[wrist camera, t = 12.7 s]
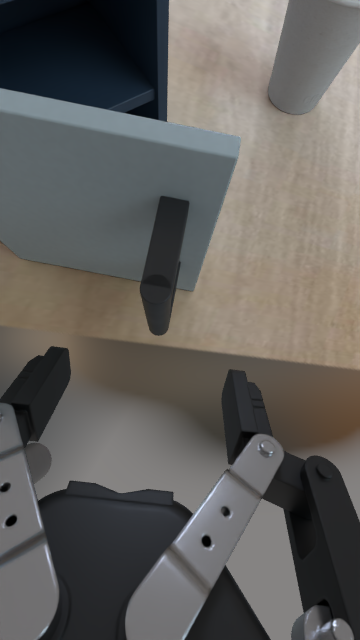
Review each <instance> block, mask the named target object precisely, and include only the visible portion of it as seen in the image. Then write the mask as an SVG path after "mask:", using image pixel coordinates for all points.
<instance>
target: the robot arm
mask: <svg viewBox="0 0 360 640" xmlns="http://www.w3.org/2000/svg"><path fill="white" fill-rule="evenodd" d="M70 375H71V369H70V359H69V351H68V349H67V348H60V347H53V346H51V347H50V348H49V349H48V351H47V352H46V354H45V355H44V356H40V355H38V356H36V357H35V358H34V359H32V360H30V361H29V362H28V363H27V365H26V366H25V367H24V369H23V370H22V371H21V373H20V374H19V375H18V377H17V378H16V379H15V380H14V382H13V383H12V384H11V386H10V387H9V388H8V389H7V391H6V392H5V393H4V395H3V396H2V397H1V399H0V640H271V639H270V638H269V636H268V635H267V633H266V631H265V630H264V628H263V626H262V625H261V623H260V621H259V620H258V618H257V616H256V615H255V613H254V611H253V610H252V608H251V606H250V605H249V603H248V602H247V600H246V598H245V597H244V595H243V593H242V592H241V590H240V589H239V587H238V585H237V583H236V582H235V580H234V578H233V577H232V575H231V573H230V572H229V570H228V569H227V567H226V565H225V564H226V563H227V561H228V559H229V557H230V555H231V553H232V552H233V550H234V548H235V546H236V544H237V542H238V541H239V539H240V537H241V535H242V534H243V532H244V530H245V528H246V526H247V524H248V523H249V521H250V519H251V517H252V515H253V514H254V512H255V510H256V508H257V506H258V504H259V503H260V501H261V499H262V498H263V499H264V500H266V501H269V502H271V503H273V504H275V505H277V506H279V507H281V508H283V509H284V514H285V519H286V524H287V529H288V534H289V540H290V544H291V550H292V555H293V560H294V565H295V571H296V576H297V581H298V586H299V591H300V596H301V601H302V606H303V612H304V614H302V615H301V616H300V617H299V618H298V619H296V621H295V622H294V625H293V627H292V634H291V638H292V639H291V640H360V522H359V519H358V517H357V514H356V511H355V509H354V506H353V504H352V501H351V499H350V496H349V494H348V491H347V488H346V486H345V483H344V481H343V478H342V476H341V473H340V472H339V470H338V469H337V468H336V466H335V465H333V463H331V462H330V461H328V460H327V459H325V458H323V457H320V456H310V457H309V458H307V460H303V459H301V458H298V457H296V456H294V455H291V454H289V453H287V452H286V451H284V450H283V448H282V446H281V445H280V443H279V442H278V441H277V440H276V439H274V438H273V435H272V431H271V428H270V424H269V420H268V417H267V413H266V410H265V406H264V403H263V399H262V395H261V391H260V390H259V389H258V387H257V386H256V385H255V383H252V382H247V377H246V373H245V371H239V370H231V369H230V370H229V371H228V374H227V378H226V381H225V384H224V388H223V392H222V410H223V420H224V429H225V438H226V447H227V456H228V464H231V465H232V466H231V467H230V469H229V470H228V469H227V470H226V471H225V472H224V473H223V474H222V475H221V477H220V478H219V480H218V481H217V482H216V484H215V485H214V486H213V488H212V489H211V491H210V492H209V493H208V495H207V496H206V498H205V499H204V500H203V502H202V503H201V504H200V506H199V507H198V509H197V510H196V511H195V513H194V514H193V513H192V512H191V511H190V510H188V509H187V508H186V507H185V506H183V505H182V504H180V503H178V502H176V501H174V500H173V492H169V491H160V490H151V489H146V490H140V491H134V492H128V493H117V492H115V491H113V490H110V489H108V488H105V487H103V486H100V485H98V484H96V483H87V482H78V481H69V484H68V487H67V489H64V490H60V491H57V492H54V493H52V494H49V495H47V496H45V497H44V498H42V499H40V500H39V501H38V499H37V495H36V491H35V488H34V483H33V480H32V476H31V472H30V468H29V464H28V460H27V456H26V453H25V449H24V448H25V447H26V445H27V443H28V441H37V442H38V440H39V439H40V437H41V435H42V433H43V431H44V429H45V427H46V425H47V423H48V421H49V419H50V418H51V416H52V414H53V412H54V410H55V408H56V406H57V404H58V402H59V400H60V399H61V397H62V395H63V393H64V391H65V389H66V387H67V385H68V383H69V380H70Z"/></svg>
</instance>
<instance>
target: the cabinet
mask: <svg viewBox="0 0 360 640" xmlns="http://www.w3.org/2000/svg"><path fill="white" fill-rule="evenodd" d="M168 22H169V0H0V88H2V89H7V90H12V91H17V92H22V93H26V94H31V95H36V96H41V97H46V98H51V99H56V100H61V101H66V102H71V103H76V104H81V105H86V106H91V107H96V108H101V109H106V110H111V111H115V112H120V113H125V114H130V115H135V116H140V117H145V118H150V119H155V120H160V121H165V122H167V84H168Z"/></svg>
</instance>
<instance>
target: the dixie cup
mask: <svg viewBox="0 0 360 640" xmlns="http://www.w3.org/2000/svg"><path fill="white" fill-rule="evenodd" d="M359 43H360V0H289V3H288V7H287V11H286V15H285V20H284V24H283V28H282V32H281V36H280V41H279V45H278V49H277V53H276V57H275V62H274V66H273V70H272V74H271V78H270V83H269V87H268V94H269V97H270V100H271V102H272V103H273V104H274V105H275V106H276V107H277V108H278V109H280V110H282V111H284V112H286V113H290V114H304V113H307V112H309V111H311V110H312V109H313V108H314V107H315V106H316V104H317V103H318V102H319V100H320V99H321V97H322V96H323V94H324V93H325V92H326V90H327V89H328V87H329V86H330V84H331V83H332V82H333V80H334V79H335V77H336V76H337V74H338V73H339V72H340V70H341V69H342V67H343V66H344V64H345V63H346V62H347V60H348V59H349V57H350V56H351V54H352V53H353V52H354V50H355V49H356V47H357V46H358V44H359Z"/></svg>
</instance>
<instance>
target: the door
mask: <svg viewBox="0 0 360 640" xmlns="http://www.w3.org/2000/svg"><path fill="white" fill-rule="evenodd" d="M240 142H241V138H240V137H239V136H234V135H229V134H224V133H219V132H214V131H209V130H205V129H200V128H195V127H190V126H185V125H180V124H175V123H170V122H165V121H160V120H155V119H150V118H145V117H140V116H135V115H130V114H125V113H120V112H115V111H111V110H106V109H101V108H96V107H91V106H86V105H81V104H76V103H71V102H66V101H61V100H56V99H51V98H46V97H41V96H36V95H31V94H26V93H22V92H17V91H12V90H7V89H2V88H0V241H1V242H2V243H3V244H4V245H6V246H7V247H8V248H9V249H10V250H11V251H12V252H14V253H15V254H16V255H17V256H18V257H19V258H21V259H26V260H32V261H37V262H42V263H47V264H53V265H58V266H63V267H68V268H73V269H79V270H84V271H89V272H94V273H100V274H105V275H110V276H115V277H121V278H126V279H131V280H136V281H141V284H140V294H141V298H142V302H143V306H144V310H145V314H146V318H147V322H148V326H149V330H150V331H151V333H153V334H154V335H158V336H160V335H163V334H165V333H166V332H167V330H168V328H169V323H170V318H171V312H172V307H173V302H174V297H175V292H176V288H178V289H183V290H189V291H194V288H195V285H196V282H197V279H198V276H199V273H200V270H201V267H202V264H203V261H204V258H205V255H206V252H207V249H208V246H209V243H210V240H211V237H212V234H213V231H214V228H215V225H216V222H217V219H218V216H219V213H220V210H221V207H222V204H223V201H224V198H225V195H226V192H227V189H228V186H229V183H230V180H231V177H232V174H233V171H234V168H235V165H236V162H237V159H238V155H239V148H240Z"/></svg>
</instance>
